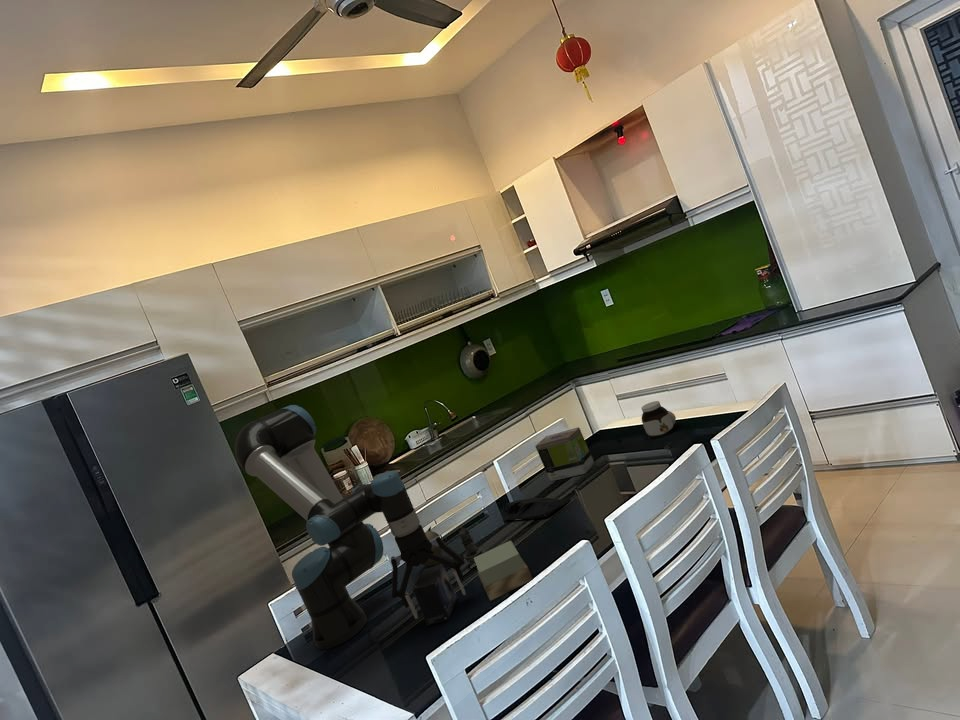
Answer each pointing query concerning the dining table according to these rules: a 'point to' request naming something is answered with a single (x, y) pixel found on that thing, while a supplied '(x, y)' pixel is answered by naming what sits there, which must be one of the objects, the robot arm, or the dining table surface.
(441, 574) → the small box
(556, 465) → the tea box
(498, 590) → the tower bottom
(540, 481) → the dining table surface
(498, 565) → the tower top
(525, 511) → the dark slate chunk
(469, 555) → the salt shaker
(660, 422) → the spread jar
